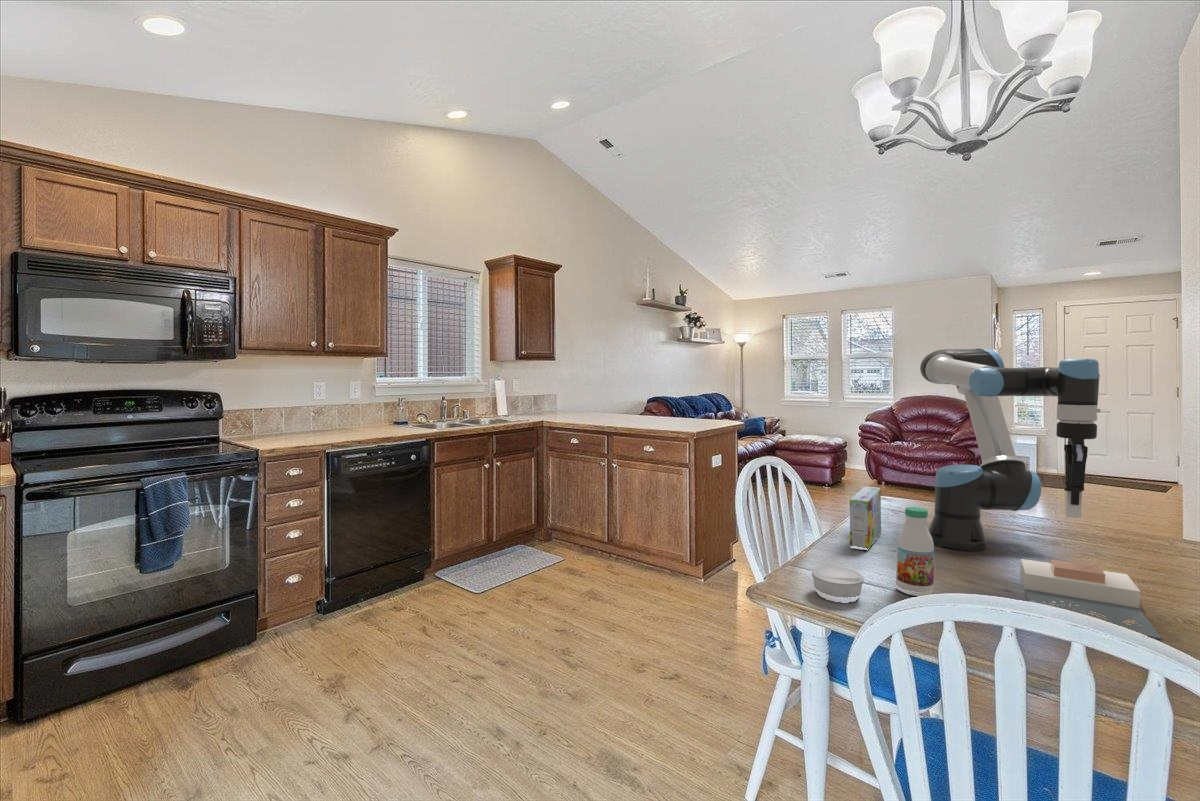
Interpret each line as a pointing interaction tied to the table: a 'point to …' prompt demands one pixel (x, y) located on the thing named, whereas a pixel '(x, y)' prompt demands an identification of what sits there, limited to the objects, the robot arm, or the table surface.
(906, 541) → the milk bottle
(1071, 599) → the mat
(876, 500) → the snack box
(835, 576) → the ramekin
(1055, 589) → the plate
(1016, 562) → the table surface
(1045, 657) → the table surface
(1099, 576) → the tile
